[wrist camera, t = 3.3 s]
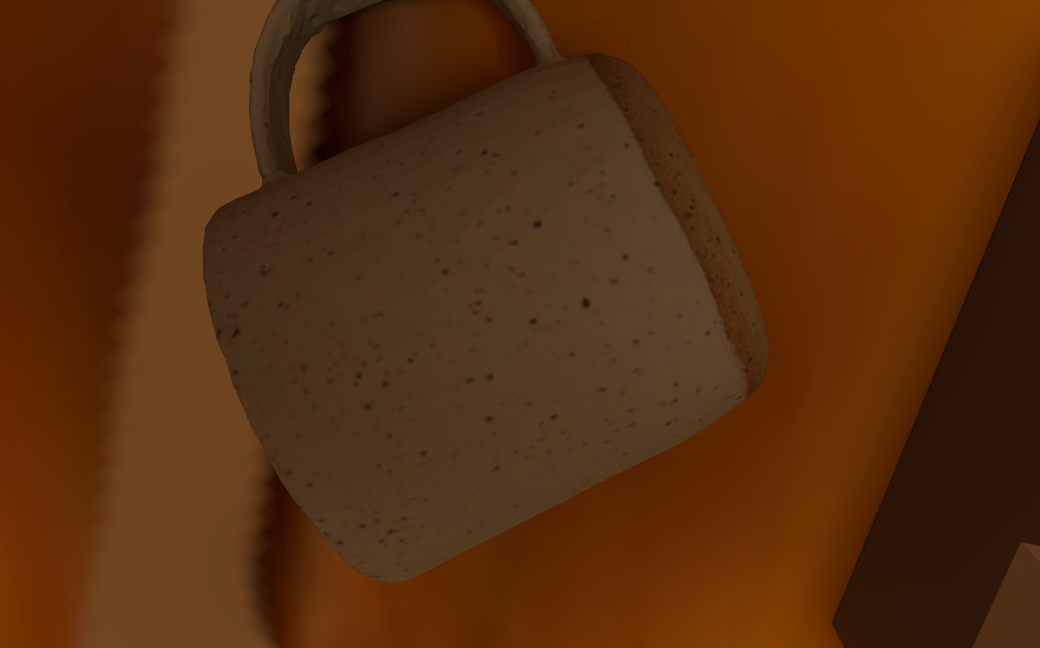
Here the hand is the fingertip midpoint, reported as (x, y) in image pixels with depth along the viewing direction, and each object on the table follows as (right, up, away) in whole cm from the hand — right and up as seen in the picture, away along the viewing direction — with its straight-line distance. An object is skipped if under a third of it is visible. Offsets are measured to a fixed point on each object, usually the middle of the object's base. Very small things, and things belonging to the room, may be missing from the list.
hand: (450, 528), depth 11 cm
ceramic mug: (-1, +5, +10) cm, 12 cm away
